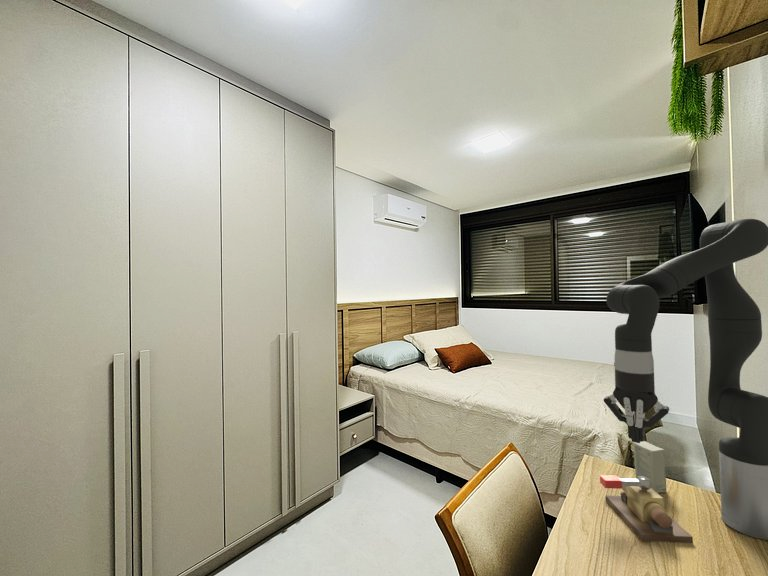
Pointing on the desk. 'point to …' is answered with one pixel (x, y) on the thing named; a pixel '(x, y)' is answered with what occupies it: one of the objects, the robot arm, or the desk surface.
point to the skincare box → (650, 464)
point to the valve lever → (624, 482)
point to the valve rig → (647, 515)
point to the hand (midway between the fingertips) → (636, 441)
